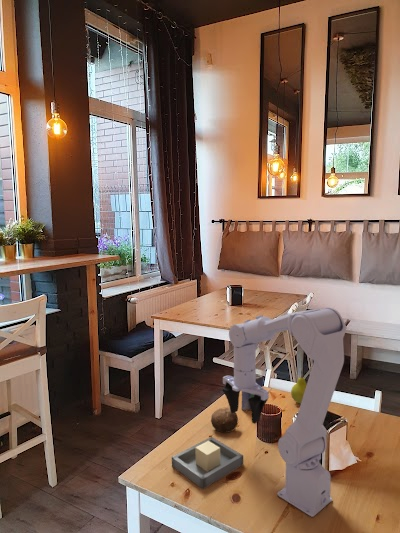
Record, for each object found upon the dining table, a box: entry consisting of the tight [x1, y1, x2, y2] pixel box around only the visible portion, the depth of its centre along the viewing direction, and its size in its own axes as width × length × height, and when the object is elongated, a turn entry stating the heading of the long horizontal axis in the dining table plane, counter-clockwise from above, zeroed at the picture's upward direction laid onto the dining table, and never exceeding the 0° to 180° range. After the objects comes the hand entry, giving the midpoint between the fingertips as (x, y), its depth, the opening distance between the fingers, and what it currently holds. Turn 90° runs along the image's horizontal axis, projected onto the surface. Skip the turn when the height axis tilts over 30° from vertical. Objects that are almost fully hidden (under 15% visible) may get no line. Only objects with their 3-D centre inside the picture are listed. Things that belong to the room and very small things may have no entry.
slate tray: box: [171, 436, 244, 490], centre depth 103 cm, size 12×14×2 cm
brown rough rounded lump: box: [210, 406, 239, 433], centre depth 121 cm, size 8×8×6 cm
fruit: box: [290, 370, 307, 405], centre depth 136 cm, size 7×7×12 cm
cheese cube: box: [195, 441, 220, 472], centre depth 103 cm, size 4×4×4 cm
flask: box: [241, 373, 264, 412], centre depth 135 cm, size 10×3×12 cm, turn 134°
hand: (244, 416), depth 107 cm, fingers open, 7 cm apart
